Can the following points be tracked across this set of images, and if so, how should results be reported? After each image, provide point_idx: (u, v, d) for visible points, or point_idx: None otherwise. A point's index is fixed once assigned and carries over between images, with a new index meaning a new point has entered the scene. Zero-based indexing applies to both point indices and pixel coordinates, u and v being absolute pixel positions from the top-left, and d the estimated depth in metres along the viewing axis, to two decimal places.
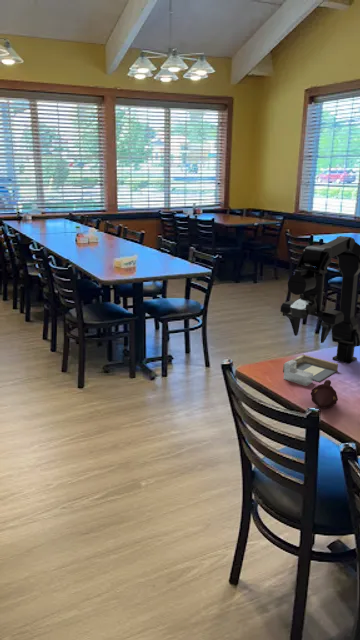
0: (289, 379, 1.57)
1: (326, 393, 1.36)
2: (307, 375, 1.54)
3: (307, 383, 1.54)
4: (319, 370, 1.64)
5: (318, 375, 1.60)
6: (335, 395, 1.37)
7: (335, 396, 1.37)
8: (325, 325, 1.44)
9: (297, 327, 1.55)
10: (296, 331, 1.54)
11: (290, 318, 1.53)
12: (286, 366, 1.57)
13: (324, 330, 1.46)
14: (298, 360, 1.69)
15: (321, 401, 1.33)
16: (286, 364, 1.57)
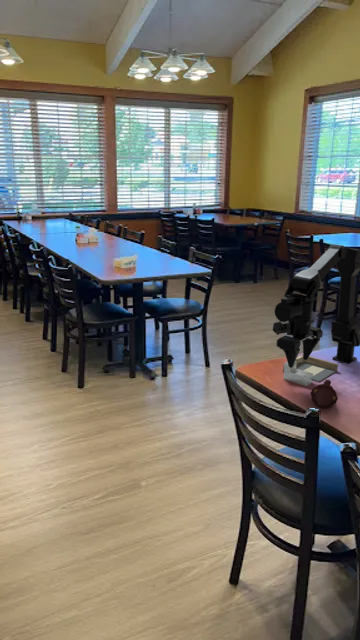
0: (289, 379, 1.57)
1: (326, 393, 1.36)
2: (307, 375, 1.54)
3: (307, 383, 1.54)
4: (319, 370, 1.64)
5: (318, 375, 1.60)
6: (335, 395, 1.37)
7: (335, 396, 1.37)
8: None
9: (307, 352, 1.58)
10: (304, 355, 1.59)
11: None
12: (286, 366, 1.57)
13: None
14: (298, 360, 1.69)
15: (321, 401, 1.33)
16: (286, 364, 1.57)
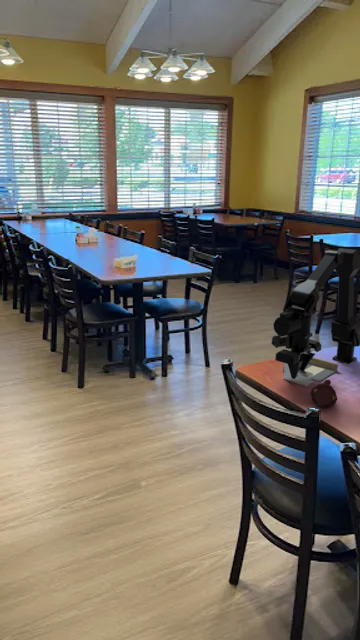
0: (289, 379, 1.57)
1: (325, 393, 1.36)
2: (307, 375, 1.54)
3: (307, 383, 1.54)
4: (319, 370, 1.64)
5: (318, 375, 1.60)
6: (335, 395, 1.37)
7: (334, 396, 1.37)
8: None
9: (301, 367, 1.58)
10: None
11: None
12: (286, 366, 1.57)
13: None
14: None
15: (320, 400, 1.33)
16: (286, 364, 1.57)
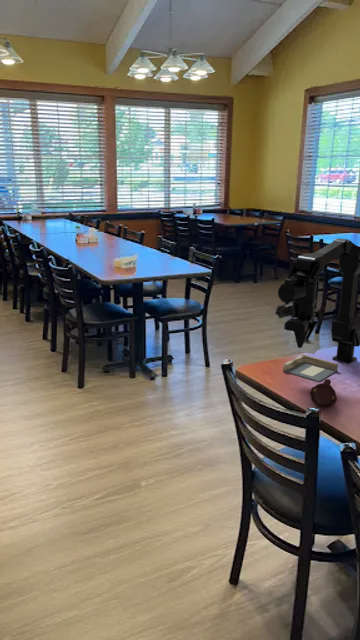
0: (295, 348, 1.55)
1: (325, 392, 1.36)
2: (314, 343, 1.52)
3: (314, 351, 1.52)
4: (319, 370, 1.64)
5: (318, 375, 1.60)
6: (334, 394, 1.38)
7: (334, 395, 1.38)
8: None
9: None
10: None
11: None
12: (291, 336, 1.54)
13: None
14: (298, 360, 1.69)
15: (320, 400, 1.34)
16: (291, 334, 1.54)
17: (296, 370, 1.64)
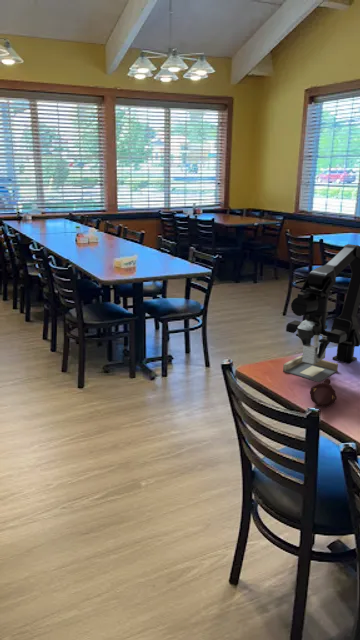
0: (316, 360, 1.60)
1: (325, 392, 1.37)
2: None
3: None
4: (319, 370, 1.64)
5: (318, 375, 1.60)
6: (334, 394, 1.38)
7: (334, 395, 1.38)
8: (323, 342, 1.56)
9: None
10: None
11: (302, 339, 1.61)
12: (315, 350, 1.58)
13: (321, 347, 1.58)
14: (298, 360, 1.69)
15: (319, 400, 1.34)
16: (315, 348, 1.58)
17: (296, 370, 1.64)
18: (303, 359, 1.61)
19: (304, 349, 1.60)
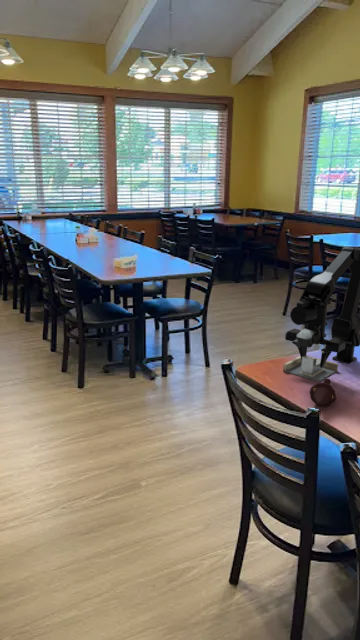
0: (315, 372, 1.61)
1: (324, 391, 1.37)
2: (320, 360, 1.65)
3: None
4: None
5: (318, 375, 1.60)
6: (334, 394, 1.38)
7: (333, 395, 1.38)
8: (325, 352, 1.56)
9: (304, 354, 1.65)
10: None
11: (298, 346, 1.63)
12: (314, 362, 1.59)
13: (323, 356, 1.58)
14: (298, 360, 1.69)
15: (319, 399, 1.34)
16: (314, 360, 1.59)
17: (296, 370, 1.64)
18: (302, 370, 1.62)
19: (303, 360, 1.61)
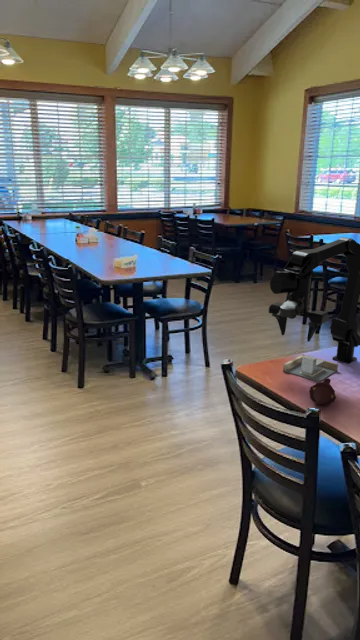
0: (315, 372, 1.61)
1: (324, 391, 1.37)
2: (320, 360, 1.65)
3: None
4: None
5: (318, 375, 1.60)
6: (333, 393, 1.38)
7: (333, 394, 1.38)
8: (312, 325, 1.54)
9: (284, 327, 1.64)
10: (283, 331, 1.64)
11: (278, 318, 1.62)
12: (314, 362, 1.59)
13: (311, 329, 1.56)
14: (298, 360, 1.69)
15: (318, 399, 1.34)
16: (314, 360, 1.59)
17: (296, 370, 1.64)
18: (302, 370, 1.62)
19: (303, 360, 1.61)
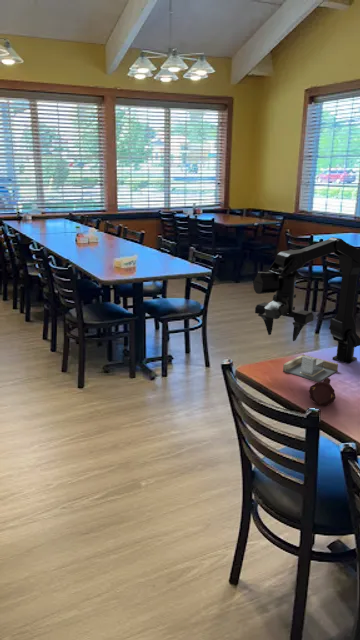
0: (315, 372, 1.61)
1: (323, 391, 1.37)
2: (320, 360, 1.65)
3: None
4: None
5: (318, 375, 1.60)
6: (333, 393, 1.39)
7: (333, 394, 1.39)
8: (296, 325, 1.56)
9: (270, 327, 1.66)
10: (270, 330, 1.66)
11: (264, 318, 1.64)
12: (314, 362, 1.59)
13: (296, 329, 1.58)
14: (298, 360, 1.69)
15: (317, 398, 1.35)
16: (314, 360, 1.59)
17: (296, 370, 1.64)
18: (302, 370, 1.62)
19: (303, 360, 1.61)
